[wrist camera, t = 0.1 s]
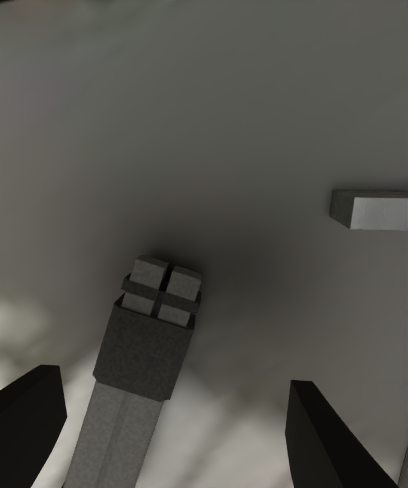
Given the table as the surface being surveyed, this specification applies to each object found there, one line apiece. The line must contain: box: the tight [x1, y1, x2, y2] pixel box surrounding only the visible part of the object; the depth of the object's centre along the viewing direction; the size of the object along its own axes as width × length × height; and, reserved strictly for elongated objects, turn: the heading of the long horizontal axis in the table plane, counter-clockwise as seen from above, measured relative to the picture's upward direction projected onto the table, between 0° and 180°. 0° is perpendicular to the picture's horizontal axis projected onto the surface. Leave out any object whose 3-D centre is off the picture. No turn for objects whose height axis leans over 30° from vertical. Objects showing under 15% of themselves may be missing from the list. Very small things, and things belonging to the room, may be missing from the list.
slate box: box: [330, 190, 408, 488], centre depth 19 cm, size 28×9×3 cm, turn 0°
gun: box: [62, 254, 202, 488], centre depth 20 cm, size 4×20×10 cm, turn 162°
